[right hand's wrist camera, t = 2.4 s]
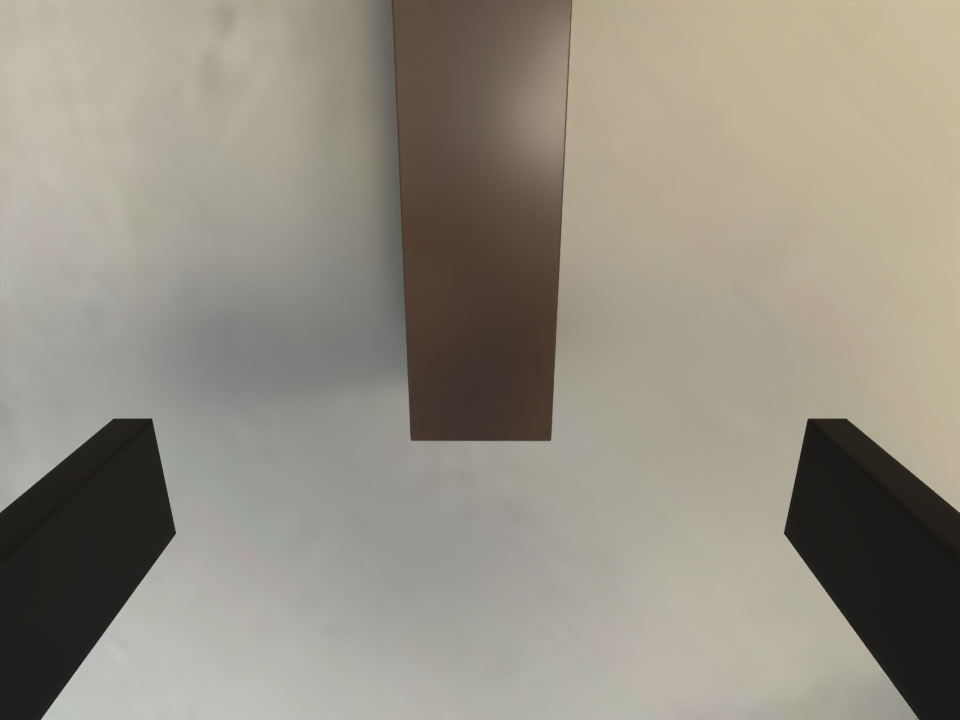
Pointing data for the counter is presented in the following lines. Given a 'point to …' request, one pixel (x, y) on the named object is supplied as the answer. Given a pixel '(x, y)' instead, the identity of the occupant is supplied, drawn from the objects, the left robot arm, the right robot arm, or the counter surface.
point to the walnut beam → (481, 211)
